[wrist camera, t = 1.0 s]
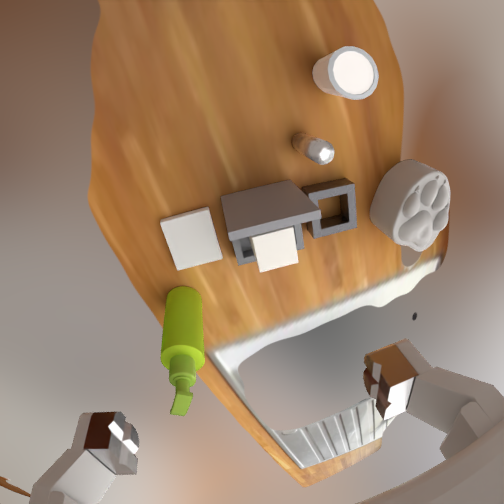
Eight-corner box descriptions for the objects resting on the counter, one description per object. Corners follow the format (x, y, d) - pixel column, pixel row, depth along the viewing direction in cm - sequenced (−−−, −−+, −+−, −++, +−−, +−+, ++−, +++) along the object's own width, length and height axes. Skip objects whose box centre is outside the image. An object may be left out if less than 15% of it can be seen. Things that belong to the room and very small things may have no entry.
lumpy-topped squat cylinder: (362, 220, 47) (390, 244, 39) (394, 148, 42) (428, 161, 34) (404, 236, 50) (432, 260, 42) (434, 172, 45) (467, 188, 37)
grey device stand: (220, 196, 41) (227, 232, 31) (290, 179, 42) (320, 209, 31) (236, 257, 46) (247, 306, 36) (299, 240, 47) (327, 284, 36)
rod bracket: (301, 187, 43) (308, 193, 40) (345, 177, 43) (354, 183, 40) (307, 230, 46) (314, 238, 43) (348, 219, 46) (356, 227, 44)
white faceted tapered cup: (307, 49, 33) (327, 42, 27) (353, 55, 34) (379, 51, 28) (307, 96, 36) (327, 97, 30) (353, 100, 37) (378, 103, 31)
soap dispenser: (162, 314, 50) (154, 414, 32) (170, 282, 47) (161, 385, 29) (195, 321, 51) (199, 421, 34) (205, 290, 49) (213, 392, 31)
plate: (161, 219, 42) (160, 222, 41) (208, 206, 42) (208, 209, 41) (178, 266, 46) (177, 270, 45) (222, 254, 46) (222, 258, 45)
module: (243, 212, 42) (252, 237, 36) (277, 204, 43) (293, 227, 36) (250, 244, 45) (260, 273, 38) (283, 236, 45) (298, 263, 38)
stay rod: (290, 134, 39) (309, 143, 32) (309, 130, 39) (332, 139, 32) (293, 153, 40) (313, 166, 33) (312, 150, 40) (335, 162, 33)
